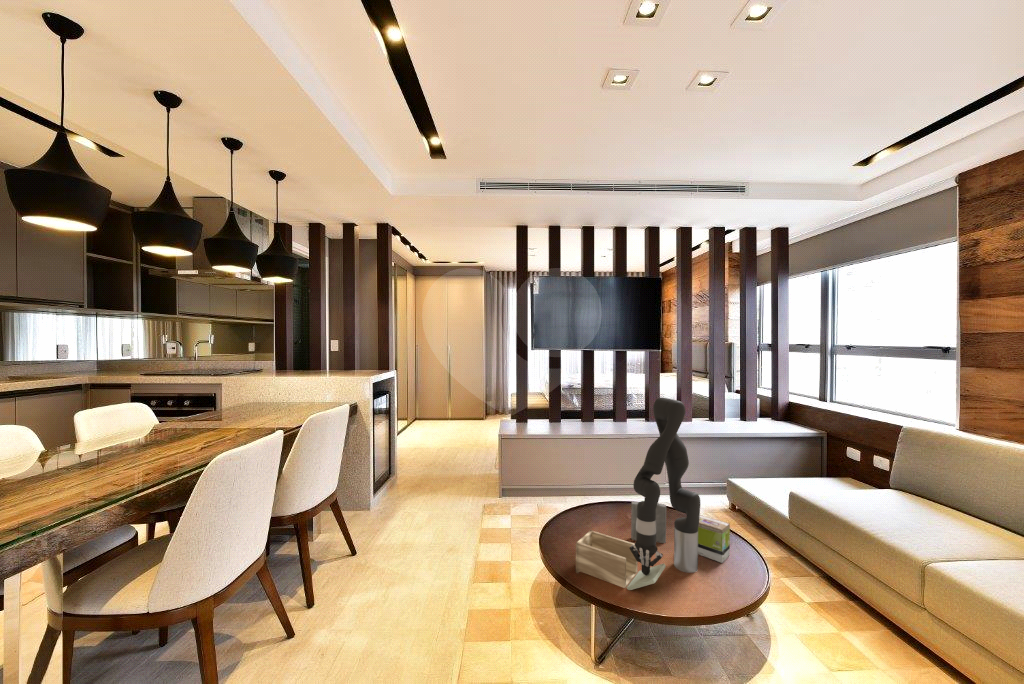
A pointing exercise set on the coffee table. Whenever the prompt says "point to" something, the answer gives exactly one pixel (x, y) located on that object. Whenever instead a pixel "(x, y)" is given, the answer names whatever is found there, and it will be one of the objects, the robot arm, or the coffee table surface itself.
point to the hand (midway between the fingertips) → (645, 574)
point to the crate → (606, 558)
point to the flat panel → (646, 577)
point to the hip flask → (659, 522)
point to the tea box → (713, 538)
